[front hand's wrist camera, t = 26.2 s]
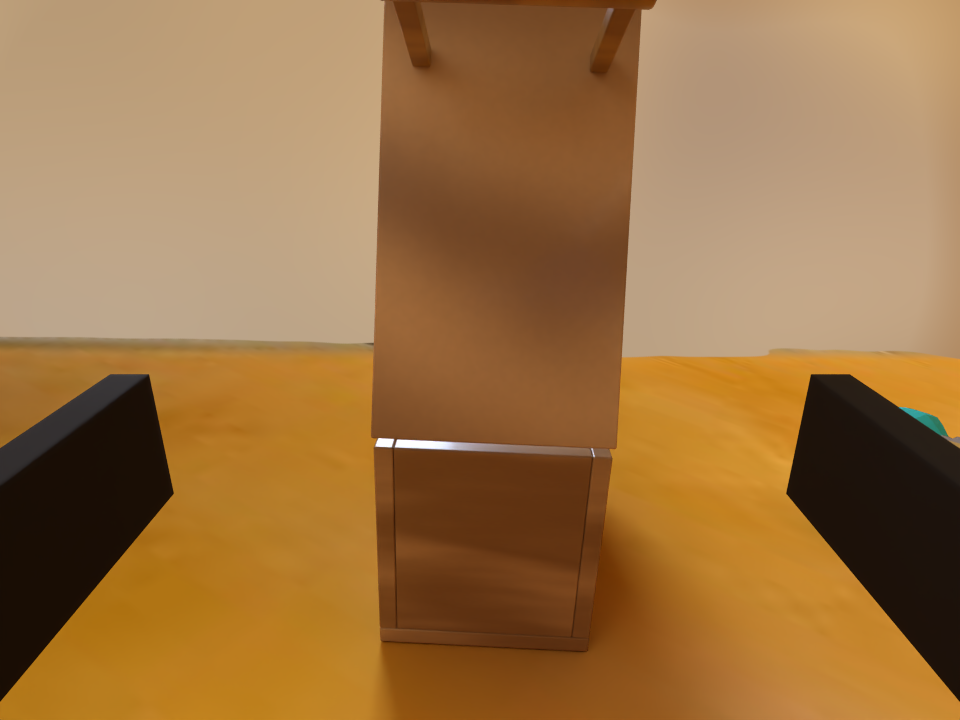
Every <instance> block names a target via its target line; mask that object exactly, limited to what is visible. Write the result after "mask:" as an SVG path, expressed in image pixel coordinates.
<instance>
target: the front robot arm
mask: <svg viewBox="0 0 960 720" xmlns="http://www.w3.org/2000/svg"><path fill="white" fill-rule="evenodd" d="M173 494H174V492H173V488H172V483H171V478H170V473H169V468H168V464H167V459H166V454H165V449H164V444H163V440H162V435H161V430H160V425H159V420H158V416H157V411H156V406H155V401H154V396H153V392H152V387H151V382H150V377H149V374H110V375H109V376H107V377H106V378H104V379H103V380H101V381H100V382H98V383H97V384H95V385H94V386H92V387H91V388H89V389H88V390H86V391H85V392H83V393H82V394H80V395H79V396H77V397H76V398H74V399H73V400H71V401H70V402H68V403H67V404H65V405H64V406H63V407H61V408H60V409H58V410H57V411H55V412H54V413H52V414H51V415H49V416H48V417H46V418H45V419H43V420H42V421H40V422H39V423H37V424H36V425H34V426H33V427H31V428H30V429H28V430H27V431H25V432H24V433H22V434H21V435H19V436H18V437H16V438H15V439H13V440H12V441H10V442H9V443H7V444H6V445H4V446H3V447H1V448H0V701H1V700H2V699H3V698H4V696H5V695H6V694H7V693H8V692H9V691H10V689H11V688H12V687H13V686H14V685H15V683H16V682H17V681H18V680H19V679H20V677H21V676H22V675H23V674H24V673H25V671H26V670H27V669H28V668H29V667H30V665H31V664H32V663H33V662H34V661H35V659H36V658H37V657H38V656H39V655H40V653H41V652H42V651H43V650H44V649H45V647H46V646H47V645H48V644H49V643H50V641H51V640H52V639H53V638H54V637H55V635H56V634H57V633H58V632H59V631H60V629H61V628H62V627H63V626H64V625H65V623H66V622H67V621H68V620H69V619H70V617H71V616H72V615H73V614H74V613H75V611H76V610H77V609H78V608H79V607H80V605H81V604H82V603H83V602H84V601H85V599H86V598H87V597H88V596H89V595H90V593H91V592H92V591H93V590H94V589H95V587H96V586H97V585H98V584H99V583H100V581H101V580H102V579H103V578H104V577H105V575H106V574H107V573H108V572H109V571H110V569H111V568H112V567H113V566H114V565H115V563H116V562H117V561H118V560H119V559H120V557H121V556H122V555H123V554H124V553H125V551H126V550H127V549H128V548H129V547H130V545H131V544H132V543H133V542H134V541H135V539H136V538H137V537H138V536H139V535H140V533H141V532H142V531H143V530H144V529H145V527H146V526H147V525H148V524H149V523H150V521H151V520H152V519H153V518H154V517H155V515H156V514H157V513H158V512H159V511H160V509H161V508H162V507H163V506H164V505H165V503H166V502H167V501H168V500H169V499H170V497H171V496H172V495H173ZM786 494H787V495H788V496H789V497H790V499H791V500H792V501H793V502H794V503H795V505H796V506H797V507H798V508H799V509H800V511H801V512H802V513H803V514H804V515H805V517H806V518H807V519H808V520H809V521H810V523H811V524H812V525H813V526H814V527H815V529H816V530H817V531H818V532H819V533H820V535H821V536H822V537H823V538H824V539H825V541H826V542H827V543H828V544H829V545H830V547H831V548H832V549H833V550H834V551H835V553H836V554H837V555H838V556H839V557H840V559H841V560H842V561H843V562H844V563H845V565H846V566H847V567H848V568H849V569H850V571H851V572H852V573H853V574H854V575H855V577H856V578H857V579H858V580H859V581H860V583H861V584H862V585H863V586H864V587H865V589H866V590H867V591H868V592H869V593H870V595H871V596H872V597H873V598H874V599H875V601H876V602H877V603H878V604H879V605H880V607H881V608H882V609H883V610H884V611H885V613H886V614H887V615H888V616H889V617H890V619H891V620H892V621H893V622H894V623H895V625H896V626H897V627H898V628H899V629H900V631H901V632H902V633H903V634H904V635H905V637H906V638H907V639H908V640H909V641H910V643H911V644H912V645H913V646H914V647H915V649H916V650H917V651H918V652H919V653H920V655H921V656H922V657H923V658H924V659H925V661H926V662H927V663H928V664H929V665H930V667H931V668H932V669H933V670H934V671H935V673H936V674H937V675H938V676H939V677H940V679H941V680H942V681H943V682H944V683H945V685H946V686H947V687H948V688H949V689H950V691H951V692H952V693H953V694H954V695H955V696H956V698H957V699H958V700H959V701H960V448H959V447H957V446H956V445H954V444H953V443H951V442H950V441H948V440H947V439H945V438H944V437H942V436H941V435H939V434H938V433H936V432H935V431H933V430H932V429H930V428H929V427H927V426H926V425H924V424H923V423H921V422H920V421H918V420H917V419H915V418H914V417H912V416H911V415H909V414H908V413H906V412H905V411H903V410H902V409H900V408H899V407H897V406H896V405H895V404H893V403H892V402H890V401H889V400H887V399H886V398H884V397H883V396H881V395H880V394H878V393H877V392H875V391H874V390H872V389H871V388H869V387H868V386H866V385H865V384H863V383H862V382H860V381H859V380H857V379H856V378H854V377H853V376H851V375H850V374H811V377H810V382H809V387H808V392H807V396H806V401H805V406H804V411H803V416H802V420H801V425H800V430H799V435H798V440H797V444H796V449H795V454H794V459H793V464H792V468H791V473H790V478H789V483H788V488H787V492H786Z"/></svg>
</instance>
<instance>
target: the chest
mask: <svg viewBox="0 0 960 720" xmlns="http://www.w3.org/2000/svg"><path fill="white" fill-rule="evenodd" d="M611 466H612V456H611V453H610V450H609V449H601V448H579V447H557V446H535V445H513V444H491V443H469V442H447V441H425V440H403V439H381V438H377V441H376V443H375V446H374V470H375V498H376V527H377V556H378V584H379V613H380V640H381V641H394V642H413V643H433V644H452V645H472V646H491V647H511V648H530V649H550V650H569V651H587V650H588V642H589V634H590V626H591V618H592V611H593V603H594V595H595V588H596V580H597V572H598V565H599V557H600V550H601V542H602V534H603V527H604V519H605V511H606V504H607V496H608V488H609V481H610V473H611Z"/></svg>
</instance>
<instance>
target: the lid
mask: <svg viewBox="0 0 960 720" xmlns="http://www.w3.org/2000/svg"><path fill="white" fill-rule="evenodd" d="M381 1H384V33H383V66H382V99H381V132H380V164H379V196H378V229H377V263H376V294H375V328H374V359H373V392H372V425H371V437H372V438H381V439H403V440H425V441H447V442H469V443H491V444H513V445H535V446H557V447H579V448H601V449H616V446H617V429H618V411H619V394H620V377H621V359H622V342H623V324H624V307H625V289H626V272H627V254H628V236H629V219H630V202H631V184H632V167H633V149H634V132H635V115H636V97H637V79H638V61H639V45H640V27H641V10H642V9H644V10H649V9H652V8H653V7H654V5H655V3H656V1H657V0H381Z"/></svg>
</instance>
